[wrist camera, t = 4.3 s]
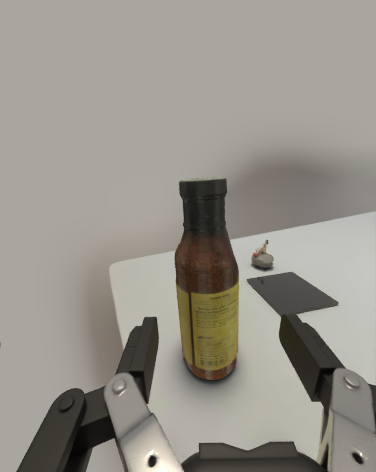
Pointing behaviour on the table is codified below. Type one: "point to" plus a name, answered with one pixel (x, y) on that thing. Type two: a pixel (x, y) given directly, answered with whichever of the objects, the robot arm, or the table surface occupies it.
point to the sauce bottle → (207, 281)
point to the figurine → (262, 257)
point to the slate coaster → (290, 293)
